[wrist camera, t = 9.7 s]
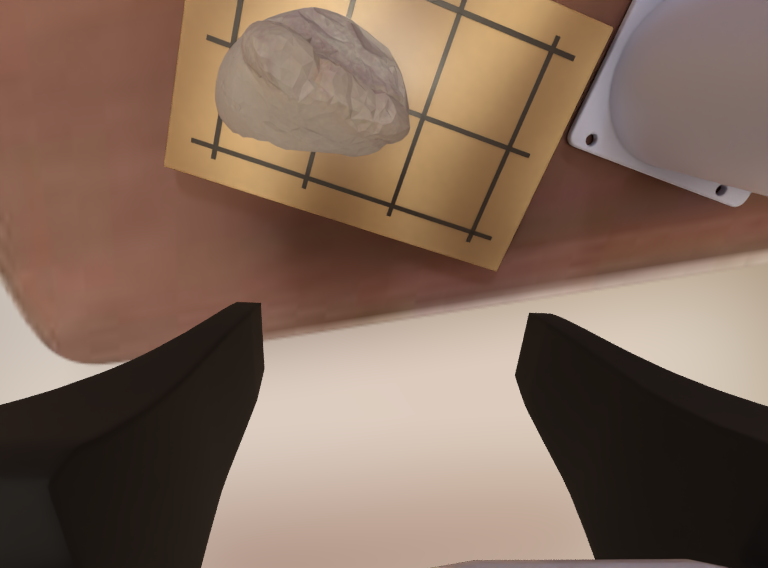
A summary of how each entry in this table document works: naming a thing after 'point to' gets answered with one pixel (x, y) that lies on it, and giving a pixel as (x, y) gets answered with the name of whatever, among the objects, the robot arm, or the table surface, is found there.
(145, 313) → the table surface
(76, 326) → the table surface
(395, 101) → the fossil
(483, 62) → the grid board
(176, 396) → the robot arm
